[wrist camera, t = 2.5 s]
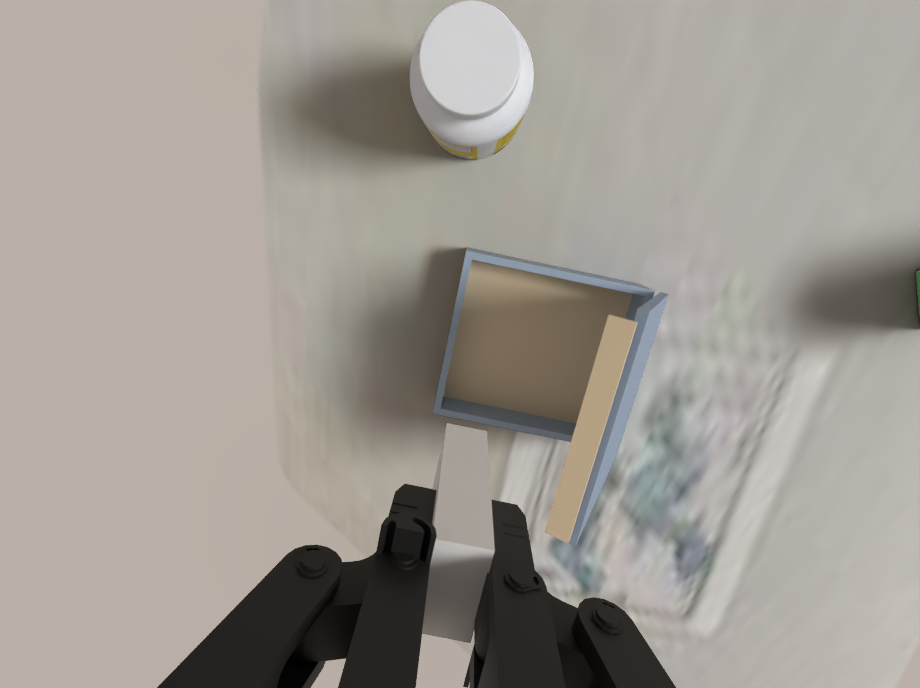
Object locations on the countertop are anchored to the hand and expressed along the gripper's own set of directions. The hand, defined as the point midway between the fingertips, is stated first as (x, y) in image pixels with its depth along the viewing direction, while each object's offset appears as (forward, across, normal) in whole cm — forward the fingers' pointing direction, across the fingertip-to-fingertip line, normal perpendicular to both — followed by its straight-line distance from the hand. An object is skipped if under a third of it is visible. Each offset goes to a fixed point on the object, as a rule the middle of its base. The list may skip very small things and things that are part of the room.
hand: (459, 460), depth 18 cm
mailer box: (+20, +5, 0) cm, 20 cm away
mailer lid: (+11, +8, 0) cm, 13 cm away
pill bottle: (+20, -3, +15) cm, 25 cm away
